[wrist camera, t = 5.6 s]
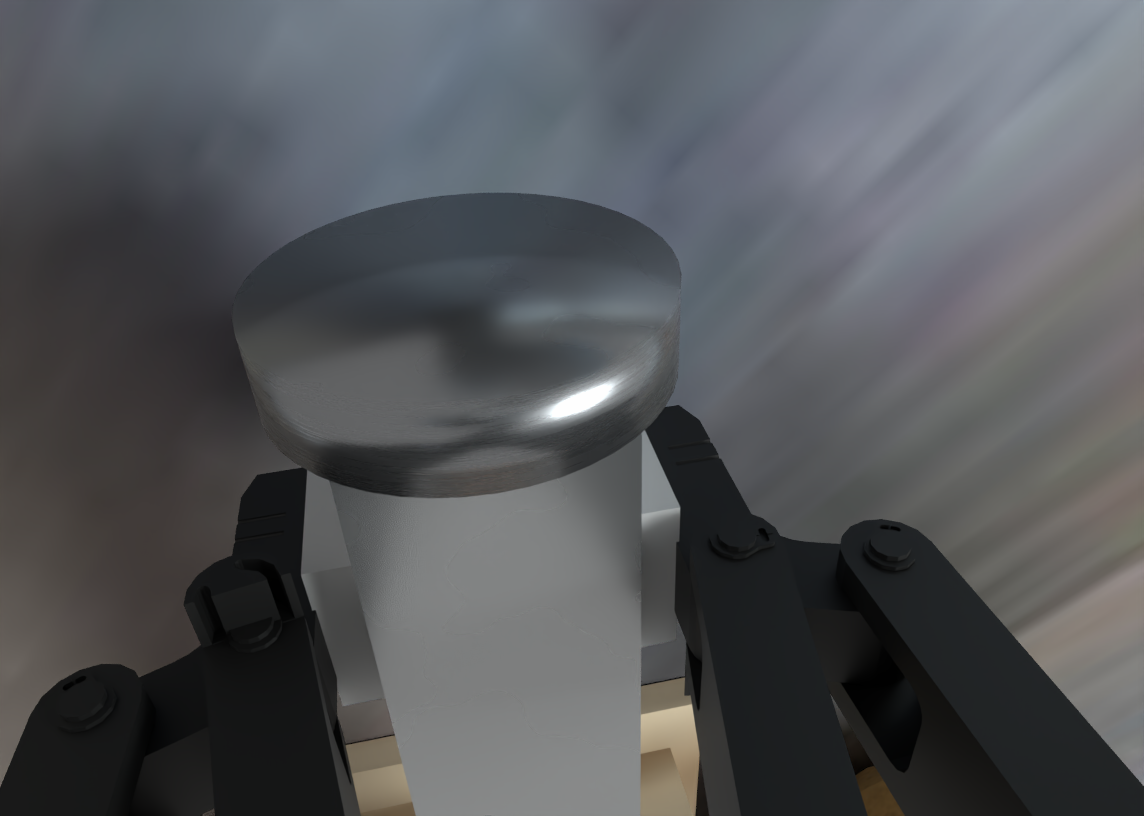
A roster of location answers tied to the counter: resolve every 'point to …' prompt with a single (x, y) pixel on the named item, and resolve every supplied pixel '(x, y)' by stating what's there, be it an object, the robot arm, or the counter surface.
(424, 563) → the shaft
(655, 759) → the bearing stand
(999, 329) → the counter surface
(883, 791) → the potato
